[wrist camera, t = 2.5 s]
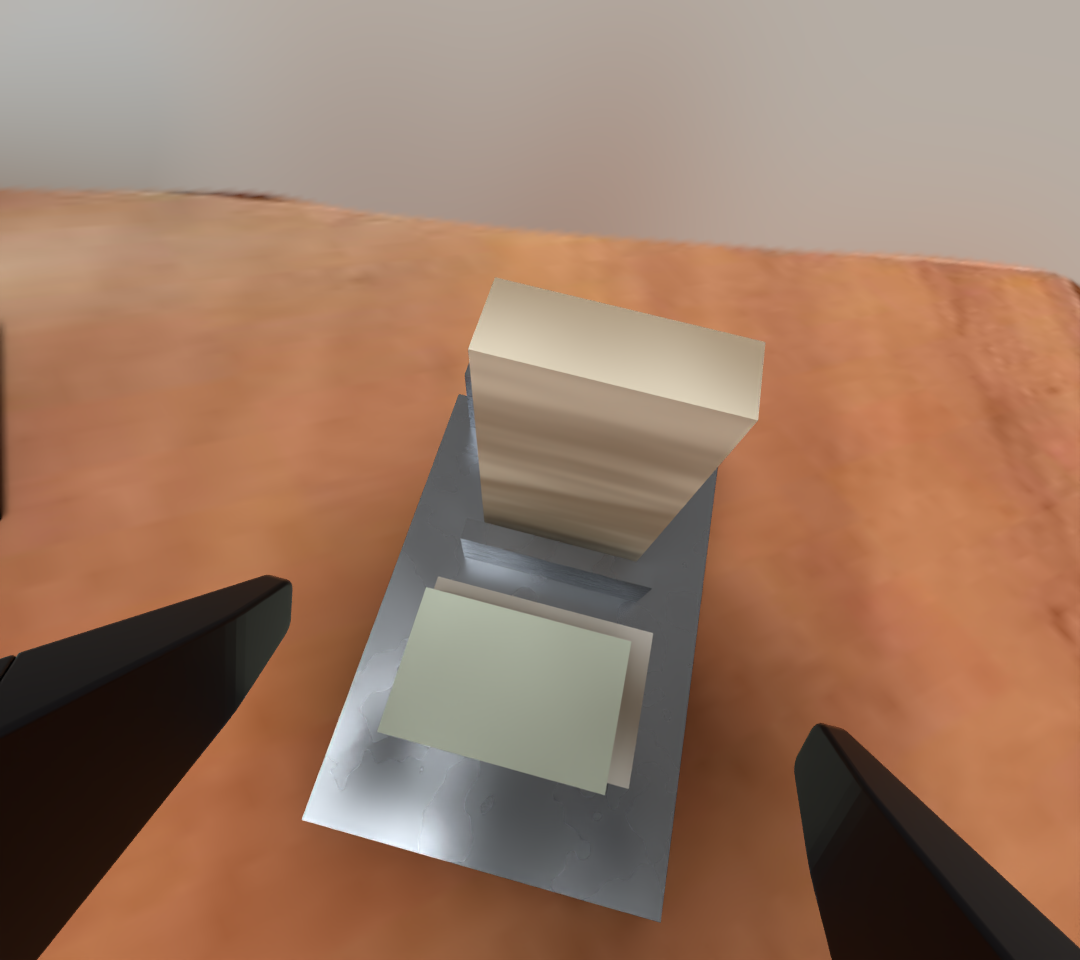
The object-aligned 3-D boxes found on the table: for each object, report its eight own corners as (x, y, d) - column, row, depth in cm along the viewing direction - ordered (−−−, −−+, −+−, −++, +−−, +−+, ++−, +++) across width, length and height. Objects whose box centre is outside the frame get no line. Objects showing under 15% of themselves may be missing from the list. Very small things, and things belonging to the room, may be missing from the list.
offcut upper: (596, 789, 17) (604, 795, 16) (386, 730, 18) (377, 731, 16) (622, 647, 19) (631, 641, 18) (431, 596, 19) (426, 587, 18)
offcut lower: (619, 783, 19) (628, 788, 17) (397, 722, 19) (389, 722, 18) (643, 638, 21) (653, 633, 19) (442, 585, 21) (438, 576, 20)
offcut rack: (652, 912, 18) (703, 978, 14) (311, 814, 19) (249, 846, 14) (711, 468, 25) (757, 412, 20) (460, 405, 25) (451, 337, 21)
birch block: (629, 569, 22) (757, 420, 11) (485, 532, 22) (467, 349, 11) (637, 524, 23) (765, 342, 12) (498, 488, 23) (495, 277, 12)
